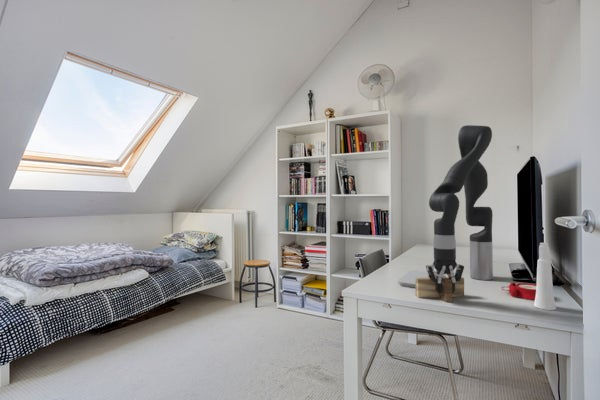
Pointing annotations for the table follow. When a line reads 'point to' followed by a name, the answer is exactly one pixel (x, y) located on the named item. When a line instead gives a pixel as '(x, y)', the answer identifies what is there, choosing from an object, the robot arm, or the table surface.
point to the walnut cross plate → (445, 289)
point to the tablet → (412, 278)
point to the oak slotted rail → (427, 288)
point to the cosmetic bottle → (544, 280)
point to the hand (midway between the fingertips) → (445, 292)
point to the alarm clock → (522, 290)
